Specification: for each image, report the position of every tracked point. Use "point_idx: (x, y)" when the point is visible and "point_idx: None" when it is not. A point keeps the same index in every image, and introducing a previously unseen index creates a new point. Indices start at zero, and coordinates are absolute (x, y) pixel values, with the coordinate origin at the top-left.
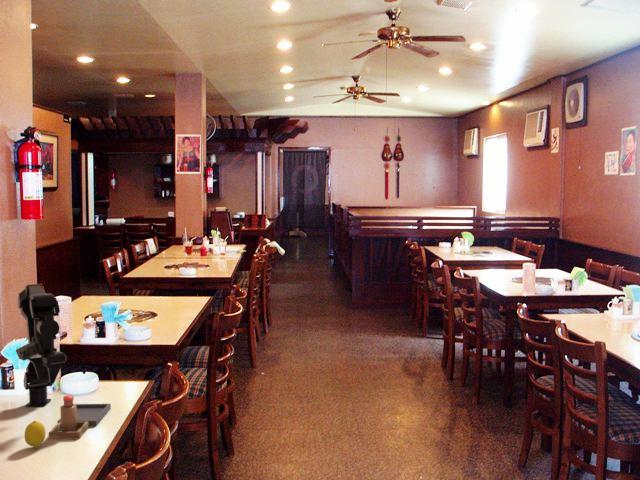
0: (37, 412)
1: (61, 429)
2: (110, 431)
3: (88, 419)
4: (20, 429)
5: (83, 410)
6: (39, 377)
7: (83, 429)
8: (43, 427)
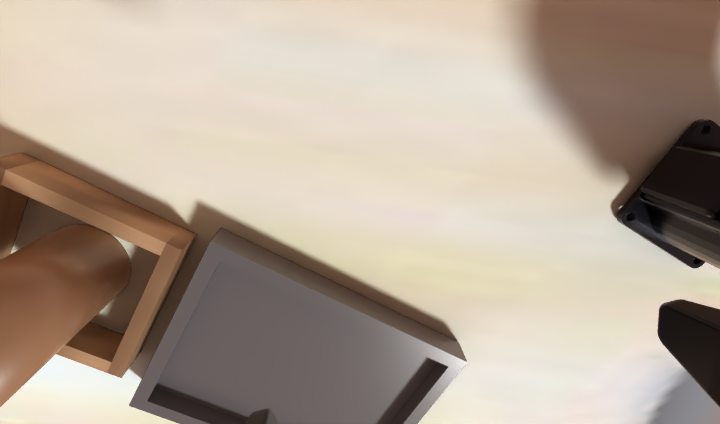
0: (540, 167)
1: (44, 238)
2: (48, 417)
3: (221, 373)
4: (281, 21)
5: (377, 375)
6: (679, 323)
7: None
8: None
